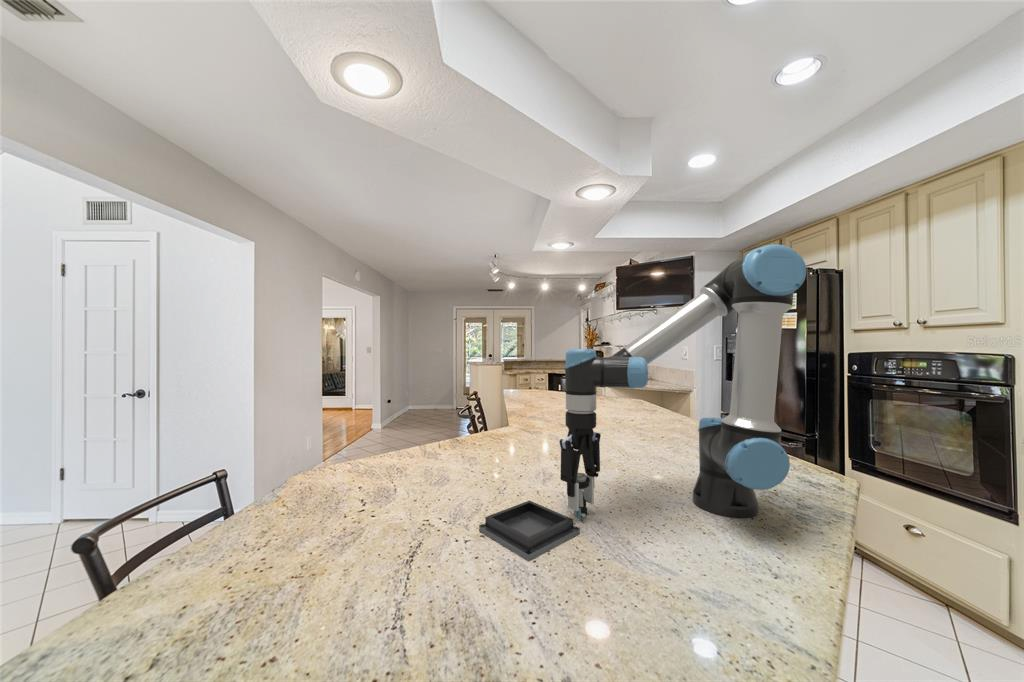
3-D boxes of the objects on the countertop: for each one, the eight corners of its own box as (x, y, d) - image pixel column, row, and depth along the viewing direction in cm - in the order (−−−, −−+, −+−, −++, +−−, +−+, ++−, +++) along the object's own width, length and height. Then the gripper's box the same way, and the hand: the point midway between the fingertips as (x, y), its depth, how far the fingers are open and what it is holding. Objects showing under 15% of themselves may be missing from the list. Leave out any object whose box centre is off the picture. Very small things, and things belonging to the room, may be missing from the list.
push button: (595, 522, 88) (593, 480, 88) (573, 524, 88) (570, 481, 88) (588, 510, 94) (586, 470, 95) (567, 511, 94) (565, 472, 94)
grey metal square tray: (579, 533, 83) (579, 519, 83) (528, 561, 72) (528, 544, 72) (529, 510, 95) (529, 498, 95) (479, 531, 84) (479, 516, 84)
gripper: (590, 405, 101) (591, 491, 100) (544, 413, 88) (544, 511, 88) (614, 408, 95) (615, 500, 94) (568, 417, 83) (569, 522, 82)
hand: (581, 505), depth 91 cm, fingers closed on push button, 5 cm apart
